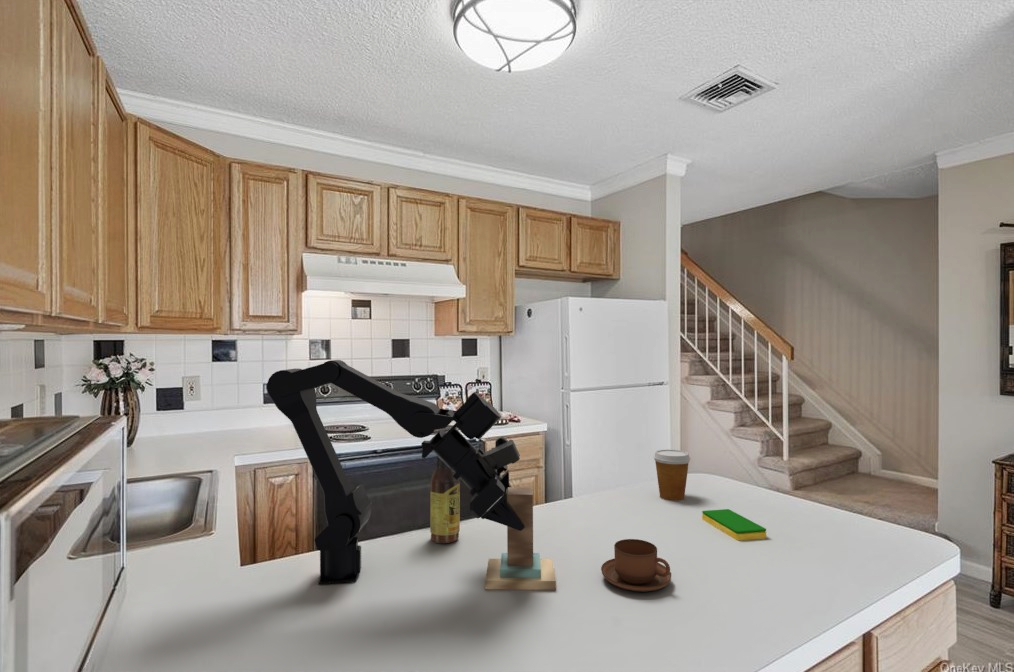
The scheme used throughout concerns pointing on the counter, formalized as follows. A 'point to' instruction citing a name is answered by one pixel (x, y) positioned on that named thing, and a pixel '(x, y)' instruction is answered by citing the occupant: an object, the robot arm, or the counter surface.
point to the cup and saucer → (636, 566)
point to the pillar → (523, 540)
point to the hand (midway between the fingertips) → (523, 519)
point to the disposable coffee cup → (672, 473)
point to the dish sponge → (734, 524)
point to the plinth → (520, 582)
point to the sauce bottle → (444, 505)
